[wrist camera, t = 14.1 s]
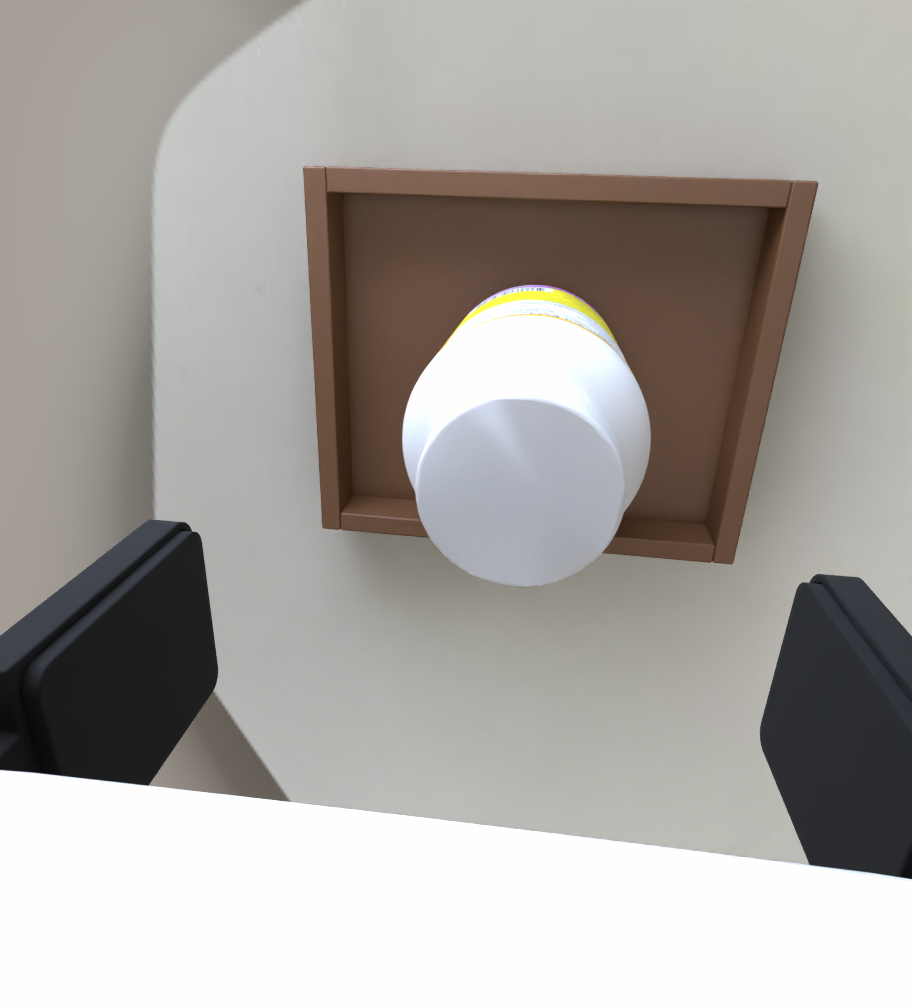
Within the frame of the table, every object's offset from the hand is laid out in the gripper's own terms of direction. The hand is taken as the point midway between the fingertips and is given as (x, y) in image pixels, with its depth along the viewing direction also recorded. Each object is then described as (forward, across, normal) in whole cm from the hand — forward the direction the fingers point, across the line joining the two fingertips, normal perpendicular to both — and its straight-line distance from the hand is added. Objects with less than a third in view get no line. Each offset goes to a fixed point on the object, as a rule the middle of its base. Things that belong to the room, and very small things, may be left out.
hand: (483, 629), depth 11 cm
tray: (+18, -1, 0) cm, 18 cm away
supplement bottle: (+18, 0, 0) cm, 18 cm away
